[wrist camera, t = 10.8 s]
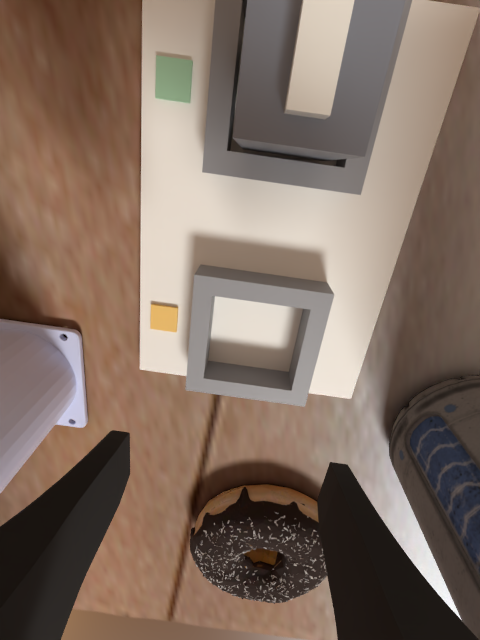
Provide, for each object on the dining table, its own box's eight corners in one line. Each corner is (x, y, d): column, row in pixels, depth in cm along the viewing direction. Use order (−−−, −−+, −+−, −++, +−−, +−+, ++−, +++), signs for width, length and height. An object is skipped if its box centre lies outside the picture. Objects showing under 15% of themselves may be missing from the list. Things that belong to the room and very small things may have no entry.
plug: (242, 149, 16) (230, 135, 9) (255, 48, 15) (251, -64, 8) (323, 160, 16) (373, 155, 9) (345, 60, 15) (424, -38, 8)
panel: (143, 362, 23) (129, 387, 20) (148, -32, 14) (124, -75, 12) (347, 391, 23) (359, 419, 20) (469, 16, 15) (514, -17, 12)
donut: (314, 568, 32) (321, 620, 28) (189, 550, 31) (180, 600, 28) (346, 487, 27) (359, 537, 23) (200, 466, 27) (191, 512, 23)
